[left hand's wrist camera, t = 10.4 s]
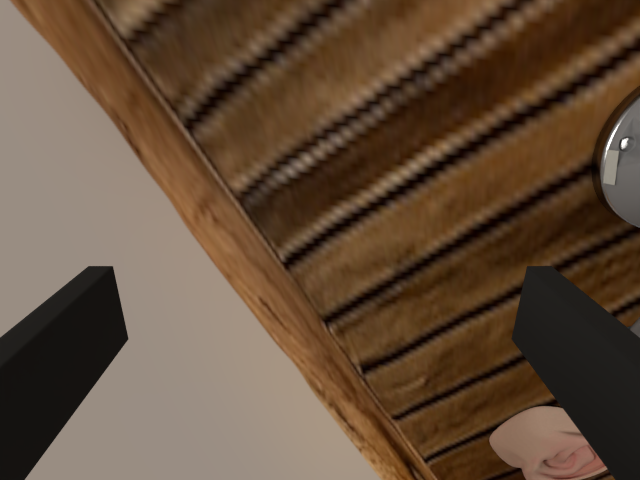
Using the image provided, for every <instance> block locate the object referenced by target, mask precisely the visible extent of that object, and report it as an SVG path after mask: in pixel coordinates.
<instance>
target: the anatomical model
mask: <svg viewBox="0 0 640 480" xmlns="http://www.w3.org/2000/svg"><path fill="white" fill-rule="evenodd" d="M489 442H490V445H491V446H492V448H493V449H494V451H495V452H496V453H497V454H498V456H499V457H500V458H501V459H502V460H504V461H505V462H506V463H507V464H509V465H511V466H513V467H517V468H522V471H523V474H524V477H525V478H526V479H527V480H581V479H585V478H588V477H591V476H593V475H596V474H598V473H601V472H603V471H605V470H607V468H606V466H605V465H604V463H603V462H602V461H601V459H600V458H599V457H598V455H597V454H596V453H595V451H594V450H593V449H592V447H591V446H590V445H589V443H588V442H587V440H586V439H585V438H584V436H583V435H582V434H581V432H580V431H579V430H578V428H577V427H576V426H575V424H574V423H573V421H572V420H571V419H570V417H569V416H568V415H567V413H566V412H565V411H564V409H563V408H559V407H551V406H539V407H533V408H530V409H527V410H525V411H523V412H521V413H518V414H517V415H515V416H513V417H512V418H510V419H509V420H507V421H506V422H505V423H503V424H502V425H501V426H499V427H498V428H497V429H496V430H495V431H494V432H493V433H492V434H491V436H490V439H489Z"/></svg>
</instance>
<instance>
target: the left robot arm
mask: <svg viewBox="0 0 640 480" xmlns="http://www.w3.org/2000/svg"><path fill="white" fill-rule="evenodd" d="M592 180H593V185H594V189H595V192H596V194H597V196H598V198H599V200H600V202H601V203H602V204H603V206H604V207H605V208H606V209H607V210H608V211H609V212H610V213H612V214H613V215H614V216H616V217H618V218H619V219H622V220H624V221H626V222H628V223H630V224H632V225H635V226H637V227H640V86H639V87H637V88H636V89H635V90H634V91H633V92H631V93H630V94H629V95H628V96H627V97H626V98H625V99H624V100H623V101H622V102H621V103H620V104H619V105H618V106H617V108H616V109H615V110H614V112H613V113H612V114H611V116H610V117H609V119H608V120H607V122H606V123H605V125H604V127H603V129H602V131H601V133H600V135H599V137H598V140H597V143H596V146H595V149H594V153H593V159H592ZM127 340H128V335H127V330H126V326H125V321H124V316H123V312H122V307H121V302H120V298H119V293H118V288H117V284H116V279H115V274H114V270H113V266H88V267H87V268H86V269H85V270H83V271H82V272H81V273H80V274H78V275H77V276H76V277H75V278H73V279H72V280H71V281H70V282H69V283H67V284H66V285H65V286H64V287H62V288H61V289H60V290H59V291H57V292H56V293H55V294H54V295H52V296H51V297H50V298H49V299H48V300H46V301H45V302H44V303H43V304H41V305H40V306H39V307H38V308H36V309H35V310H34V311H33V312H31V313H30V314H29V315H28V316H26V317H25V318H24V319H23V320H22V321H20V322H19V323H18V324H17V325H15V326H14V327H13V328H12V329H10V330H9V331H8V332H7V333H5V334H4V335H3V336H2V337H0V480H25V478H26V477H27V476H28V474H29V473H30V472H31V470H32V469H33V468H34V466H35V465H36V463H37V462H38V461H39V459H40V458H41V457H42V455H43V454H44V453H45V451H46V450H47V449H48V447H49V446H50V444H51V443H52V442H53V440H54V439H55V438H56V436H57V435H58V434H59V432H60V431H61V430H62V428H63V427H64V426H65V424H66V423H67V421H68V420H69V419H70V417H71V416H72V415H73V413H74V412H75V411H76V409H77V408H78V407H79V405H80V404H81V402H82V401H83V400H84V398H85V397H86V396H87V394H88V393H89V392H90V390H91V389H92V388H93V386H94V385H95V384H96V382H97V381H98V379H99V378H100V377H101V375H102V374H103V373H104V371H105V370H106V369H107V367H108V366H109V365H110V363H111V362H112V361H113V359H114V358H115V356H116V355H117V354H118V352H119V351H120V350H121V348H122V347H123V346H124V344H125V343H126V342H127ZM512 340H513V342H514V343H515V344H516V346H517V347H518V348H519V350H520V351H521V352H522V354H523V355H524V356H525V358H526V359H527V361H528V362H529V363H530V365H531V366H532V367H533V369H534V370H535V371H536V373H537V374H538V375H539V377H540V378H541V379H542V381H543V382H544V384H545V385H546V386H547V388H548V389H549V390H550V392H551V393H552V394H553V396H554V397H555V398H556V400H557V401H558V403H559V404H560V405H561V407H562V408H563V409H564V411H565V412H566V413H567V415H568V416H569V417H570V419H571V420H572V421H573V423H574V424H575V426H576V427H577V428H578V430H579V431H580V432H581V434H582V435H583V436H584V438H585V439H586V440H587V442H588V443H589V445H590V446H591V447H592V449H593V450H594V451H595V453H596V454H597V455H598V457H599V458H600V459H601V461H602V462H603V463H604V465H605V466H606V468H607V469H608V470H609V472H610V473H611V474H612V476H613V477H614V478H615V480H640V317H639V318H638V320H637V321H636V322H635V323H634V324H633V326H632V327H628V328H627V327H626V326H625V325H623V324H622V323H621V322H620V321H618V320H617V319H616V318H615V317H614V316H612V315H611V314H610V313H609V312H607V311H606V310H605V309H604V308H602V307H601V306H600V305H599V304H597V303H596V302H595V301H594V300H592V299H591V298H590V297H589V296H588V295H586V294H585V293H584V292H583V291H581V290H580V289H579V288H578V287H576V286H575V285H574V284H573V283H571V282H570V281H569V280H568V279H567V278H565V277H564V276H563V275H562V274H560V273H559V272H558V271H557V270H555V269H554V268H553V267H552V266H527V270H526V274H525V279H524V284H523V288H522V293H521V298H520V302H519V307H518V312H517V316H516V321H515V326H514V330H513V335H512Z"/></svg>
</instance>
